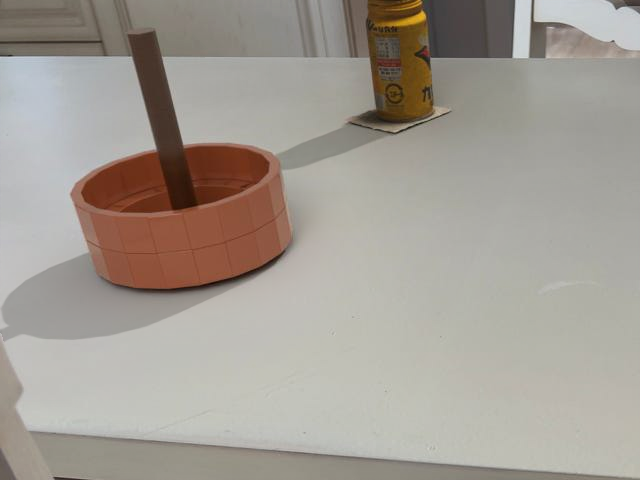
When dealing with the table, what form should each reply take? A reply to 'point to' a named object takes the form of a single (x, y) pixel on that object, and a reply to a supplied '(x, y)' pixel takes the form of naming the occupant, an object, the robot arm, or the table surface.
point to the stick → (162, 116)
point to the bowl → (184, 217)
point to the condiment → (398, 66)
